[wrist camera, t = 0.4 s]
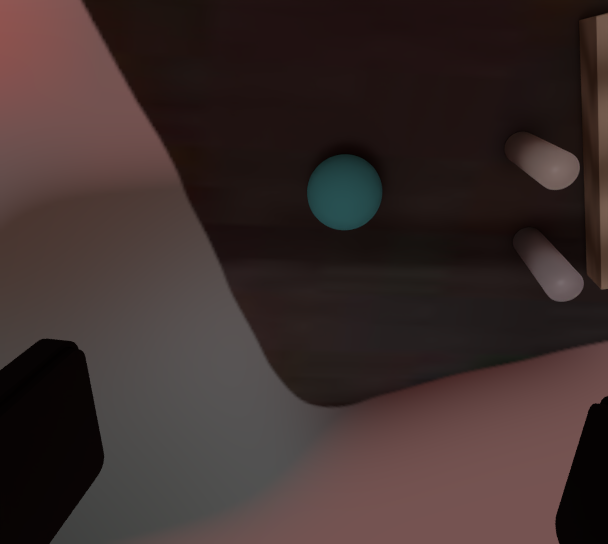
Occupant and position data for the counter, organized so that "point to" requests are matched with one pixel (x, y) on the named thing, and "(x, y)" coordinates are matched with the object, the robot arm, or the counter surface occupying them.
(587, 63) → the oak rail
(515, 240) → the grey pin
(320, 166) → the ball
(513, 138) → the cream pin
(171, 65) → the counter surface
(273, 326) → the counter surface
